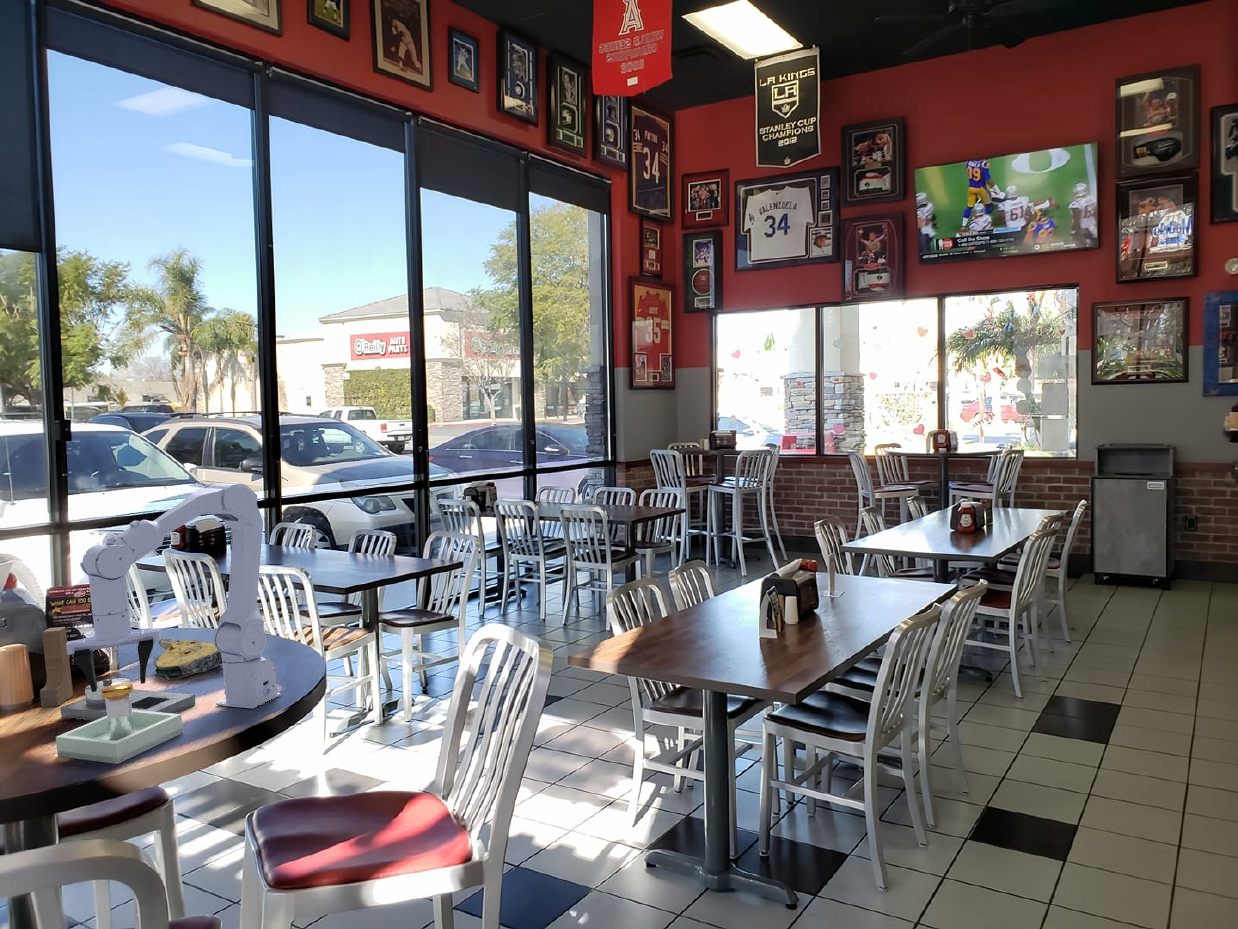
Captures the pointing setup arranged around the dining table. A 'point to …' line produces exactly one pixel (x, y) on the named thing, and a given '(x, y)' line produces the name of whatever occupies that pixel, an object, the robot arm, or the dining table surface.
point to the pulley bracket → (140, 699)
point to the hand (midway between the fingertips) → (119, 686)
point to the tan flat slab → (186, 658)
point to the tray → (99, 747)
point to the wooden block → (56, 668)
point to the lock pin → (119, 710)
